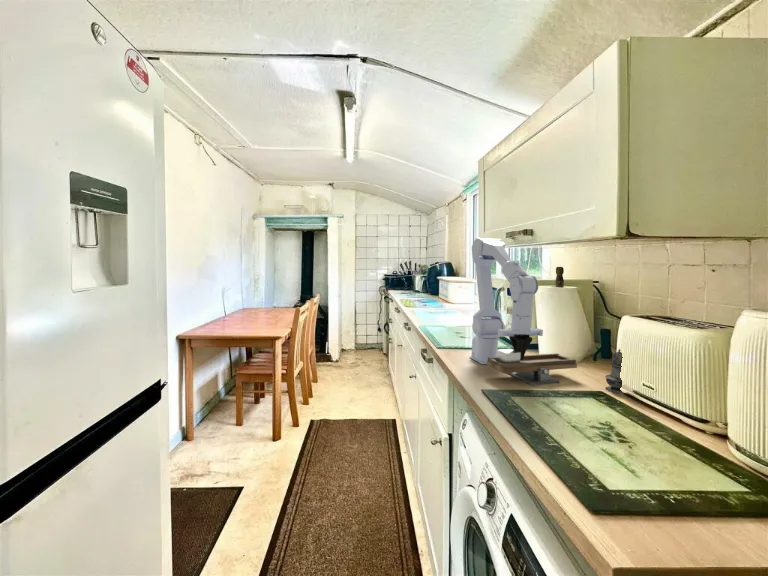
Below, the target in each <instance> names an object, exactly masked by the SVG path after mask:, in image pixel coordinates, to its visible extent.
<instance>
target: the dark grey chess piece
mask: <svg viewBox="0 0 768 576" xmlns="http://www.w3.org/2000/svg"><path fill="white" fill-rule="evenodd" d="M621 351H622V350H621V349H620V348H618V350H617V351H616V352H613V354H612V363H610V365H611V371H610V374H606V375H605V380H606V384H608V386H606V387H605V388H604V389H605V390H606V391H607V390H608V391H607V392H610V393H614V394H621V395H624V394H623V392H622V391H621V390H620V388H621V387H622V380H621V378H620V372H621V367H622V366H621V363H622V358H623V357H622V353H623V352H621Z"/></svg>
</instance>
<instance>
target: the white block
mask: <svg viewBox="0 0 768 576" xmlns="http://www.w3.org/2000/svg"><path fill="white" fill-rule="evenodd" d="M520 356H521V353H520V352H518V351H515V350H514V348H503V349H502V348H499V349H497V357H496V361H498V362H500V363H502V364H504V363H520Z"/></svg>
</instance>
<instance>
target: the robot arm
mask: <svg viewBox="0 0 768 576" xmlns="http://www.w3.org/2000/svg"><path fill="white" fill-rule="evenodd" d="M471 255H472V262H473V263H474V264H475V272H476V285H477V294H478V303H479V304H478V305H479V309H478V310H477V312H475V313H474V315H473V316H472V327H471V328H472V331H473V334H474V336H473V337H472V341H471V355H469V356H468V357H469V358H470V359H471V360H474V361H476V362H477V363H480V364H481V365H487V361H488V357H497V349H498V346H499V338H504V337H508V339H509V340H510V343H511V345H512V349H513V350H515V351H518V352H520V353H521V356H520V360H523V358H524V355H526V351H527V349H528V348H529V346H530V344H531V343H532V342H533V336H535V337H536V336H540V337H543V333H544V330H543V329H541V328H532V322H533V321H532V320H533V319H532V318H533V306H534V305H533V304H534V303H533V302H534V295H535V294H536V293H537V292H538V289H539V282H538V279H537V277H536V276H535V275H530V274H528V273H527V272H526V271H525V270H524V268H522V266H521V265H520V263H519V261H518V260H517V261H516V260H512V259H511V257H510V256H509V254H508V253H507V251H506V244H505V242H504V241H503V240H502V239H501V238H485V237H484V238H480V237H476V238H475V239H474V240H473V243H472V245H471ZM496 263H498V264H499V265H500V266H501V273H502V275H503V276H504V278H505V279H506V280H507V281H508V283H509V286H508V287H509V291H510V298H511V300H512V307H511V308H512V309H511V325H510V328H505V324H504V323H505V322H504V320H503V318H502V314H501V313H500V312H499V311H498V310H496V309H495V301H494V292H493V291H494V289H493V282H492V281H493V280H492V273H491V271H492V269H491V266H492V265H493V264H496ZM531 336H532V337H531Z"/></svg>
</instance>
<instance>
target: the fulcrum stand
mask: <svg viewBox="0 0 768 576" xmlns="http://www.w3.org/2000/svg"><path fill="white" fill-rule="evenodd" d="M550 371H551V370H550V369H549V368H539V371H528V372H514V373H507V374H508V375H510V376H512V377H514V378H515V379H518V380H519V381H521V382H524V383H525V384H527V385H529V386H537V385H538V386H539V385H551V384H560V379H557V378H555V377H552V376H550Z"/></svg>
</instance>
